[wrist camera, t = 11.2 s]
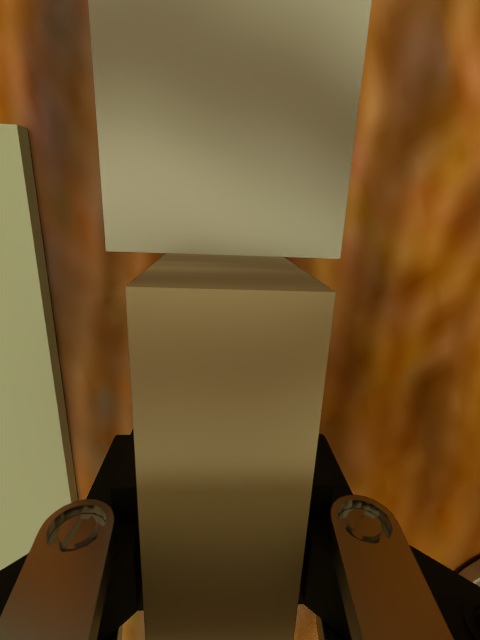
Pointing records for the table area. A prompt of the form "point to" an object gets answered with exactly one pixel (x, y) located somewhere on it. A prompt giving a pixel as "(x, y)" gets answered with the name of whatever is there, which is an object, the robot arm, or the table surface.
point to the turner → (226, 284)
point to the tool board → (27, 364)
